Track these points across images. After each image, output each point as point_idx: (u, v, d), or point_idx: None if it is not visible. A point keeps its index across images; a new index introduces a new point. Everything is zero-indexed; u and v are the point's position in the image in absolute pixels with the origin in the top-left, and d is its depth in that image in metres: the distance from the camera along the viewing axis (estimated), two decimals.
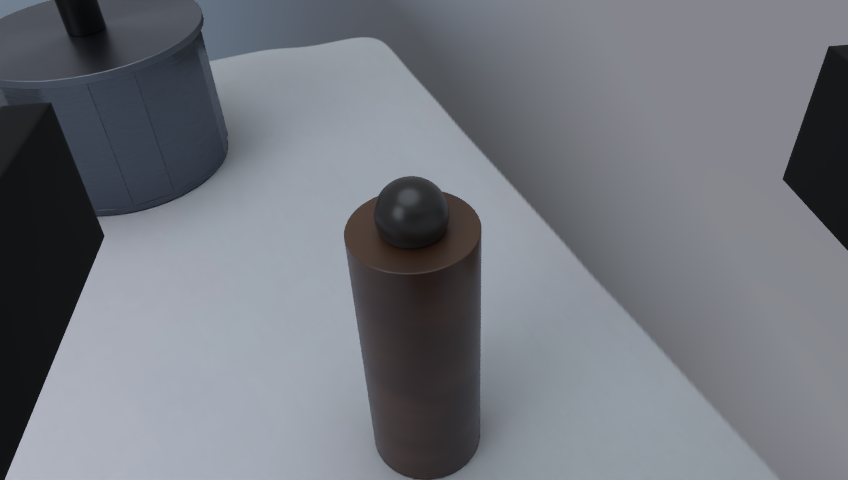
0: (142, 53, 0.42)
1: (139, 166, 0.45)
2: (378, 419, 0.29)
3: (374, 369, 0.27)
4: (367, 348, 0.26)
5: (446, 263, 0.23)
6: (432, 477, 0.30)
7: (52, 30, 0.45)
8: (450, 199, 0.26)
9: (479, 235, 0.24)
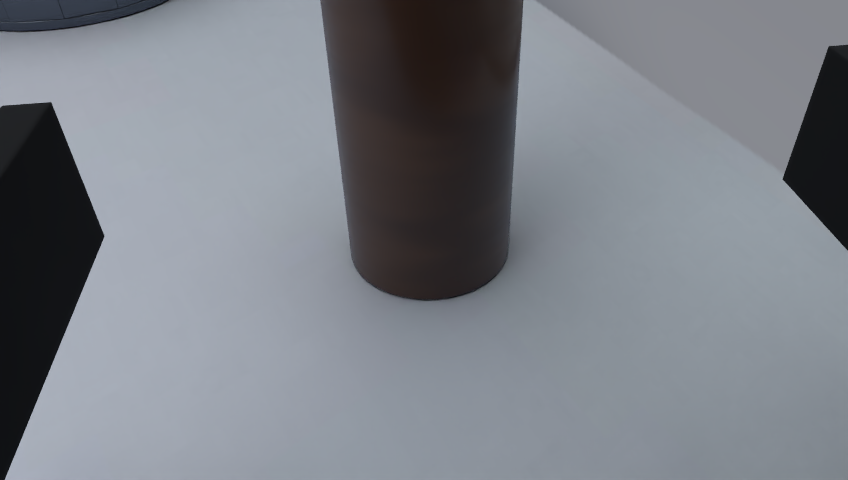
0: None
1: None
2: (353, 191, 0.19)
3: (345, 74, 0.16)
4: (334, 29, 0.16)
5: None
6: (435, 295, 0.20)
7: None
8: None
9: None
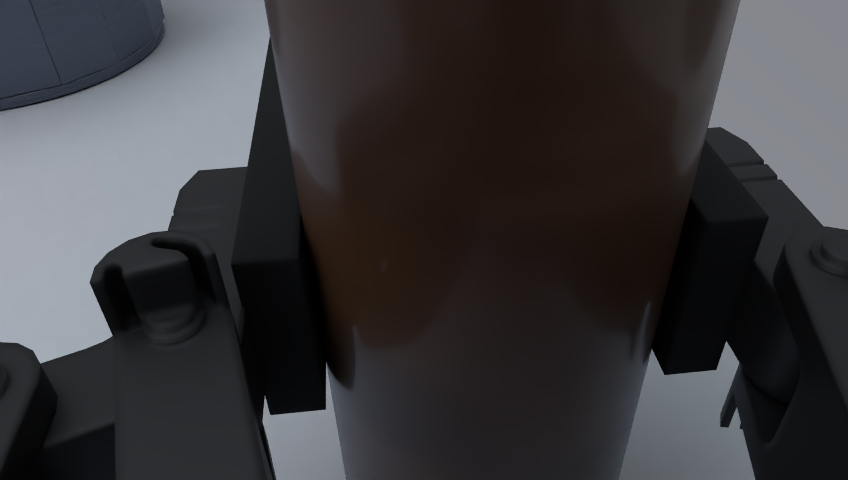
0: None
1: None
2: None
3: (352, 379, 0.09)
4: (331, 311, 0.08)
5: None
6: None
7: None
8: None
9: None
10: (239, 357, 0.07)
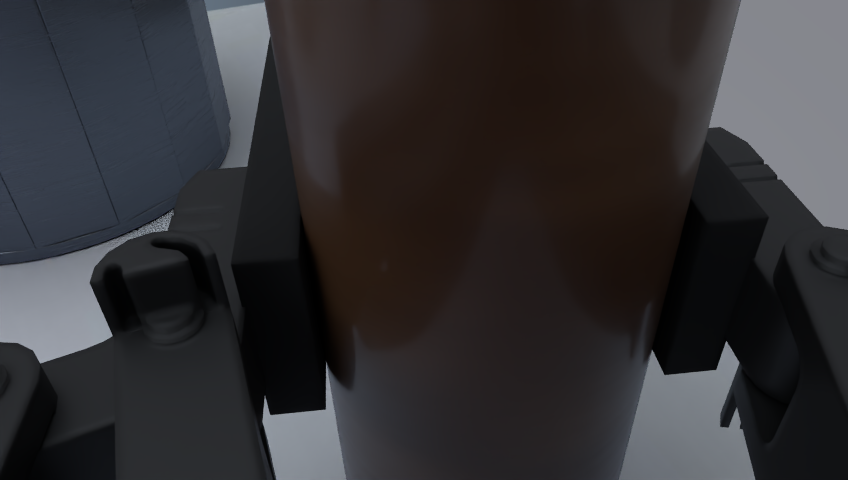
0: None
1: (44, 171, 0.22)
2: None
3: (351, 380, 0.09)
4: (332, 312, 0.08)
5: None
6: None
7: None
8: None
9: None
10: (239, 357, 0.07)
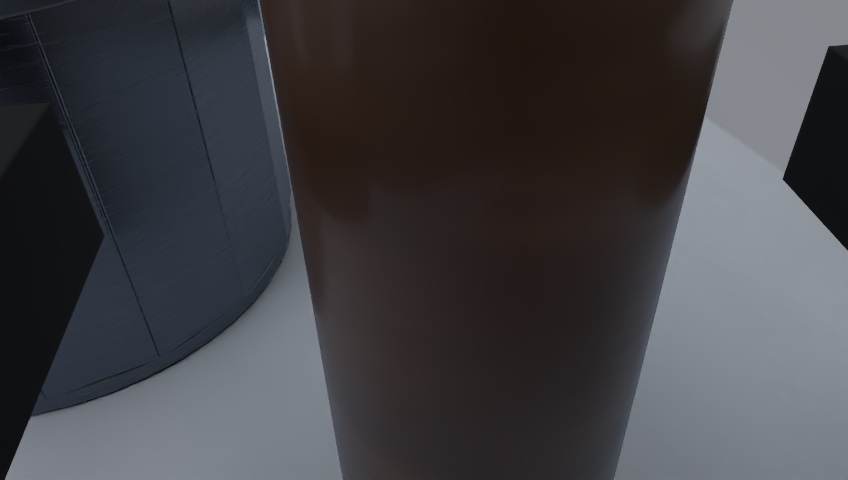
0: None
1: None
2: None
3: (349, 394, 0.09)
4: (330, 329, 0.09)
5: None
6: None
7: None
8: None
9: None
10: None
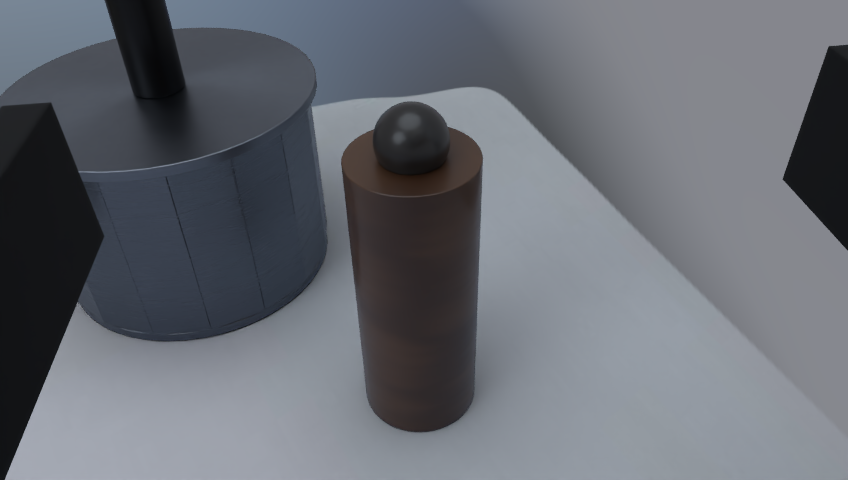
0: (243, 131, 0.29)
1: (224, 280, 0.32)
2: (370, 365, 0.28)
3: (367, 307, 0.26)
4: (361, 284, 0.26)
5: (444, 188, 0.22)
6: (423, 429, 0.29)
7: (112, 86, 0.33)
8: (452, 132, 0.25)
9: (480, 165, 0.23)
10: None
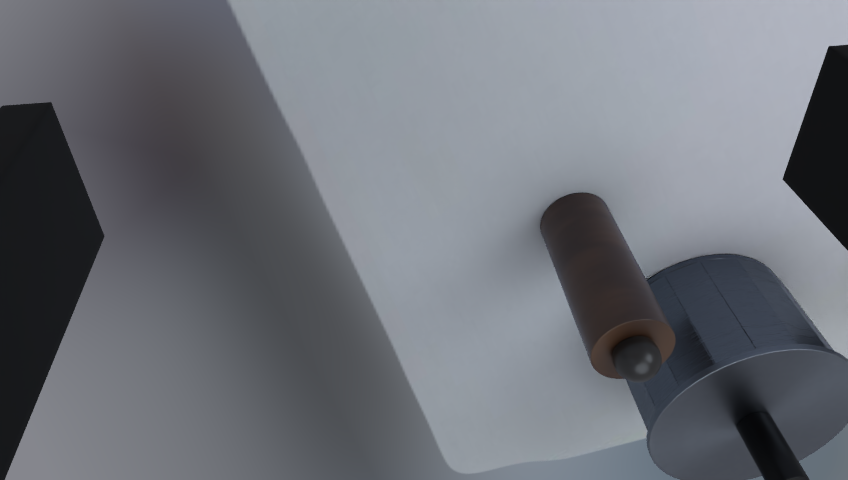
0: (708, 383, 0.45)
1: (699, 291, 0.49)
2: (620, 232, 0.45)
3: (637, 264, 0.43)
4: (644, 277, 0.42)
5: (623, 325, 0.38)
6: (580, 193, 0.47)
7: (784, 423, 0.48)
8: (602, 369, 0.40)
9: (595, 343, 0.38)
10: None
